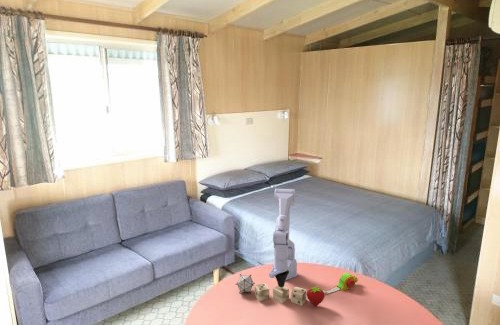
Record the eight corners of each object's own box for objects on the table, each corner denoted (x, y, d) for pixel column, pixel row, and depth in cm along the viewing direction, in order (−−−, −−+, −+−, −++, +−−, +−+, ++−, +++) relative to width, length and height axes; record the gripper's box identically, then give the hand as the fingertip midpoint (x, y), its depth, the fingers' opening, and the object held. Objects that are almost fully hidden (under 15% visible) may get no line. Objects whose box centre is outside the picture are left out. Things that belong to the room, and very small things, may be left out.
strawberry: (324, 311, 142) (325, 289, 140) (306, 309, 143) (306, 287, 141) (324, 303, 147) (324, 281, 146) (306, 301, 149) (306, 280, 147)
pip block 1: (265, 293, 156) (264, 282, 155) (269, 299, 151) (269, 288, 150) (254, 295, 154) (254, 285, 153) (258, 301, 149) (258, 290, 148)
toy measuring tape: (361, 287, 159) (362, 274, 158) (327, 297, 152) (327, 284, 150) (352, 280, 165) (353, 268, 164) (319, 290, 157) (319, 277, 156)
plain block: (280, 294, 155) (280, 284, 154) (289, 298, 151) (289, 288, 150) (273, 298, 151) (273, 288, 150) (281, 303, 148) (281, 293, 147)
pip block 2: (295, 296, 152) (295, 286, 152) (306, 299, 150) (306, 289, 149) (291, 302, 148) (291, 292, 147) (301, 306, 146) (302, 295, 145)
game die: (246, 301, 156) (244, 292, 149) (233, 289, 160) (230, 280, 153) (259, 286, 160) (257, 277, 153) (245, 275, 164) (243, 266, 157)
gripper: (283, 249, 155) (282, 276, 158) (263, 261, 145) (263, 290, 147) (296, 253, 151) (295, 281, 154) (277, 266, 140) (277, 296, 143)
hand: (281, 286), depth 150 cm, fingers closed
